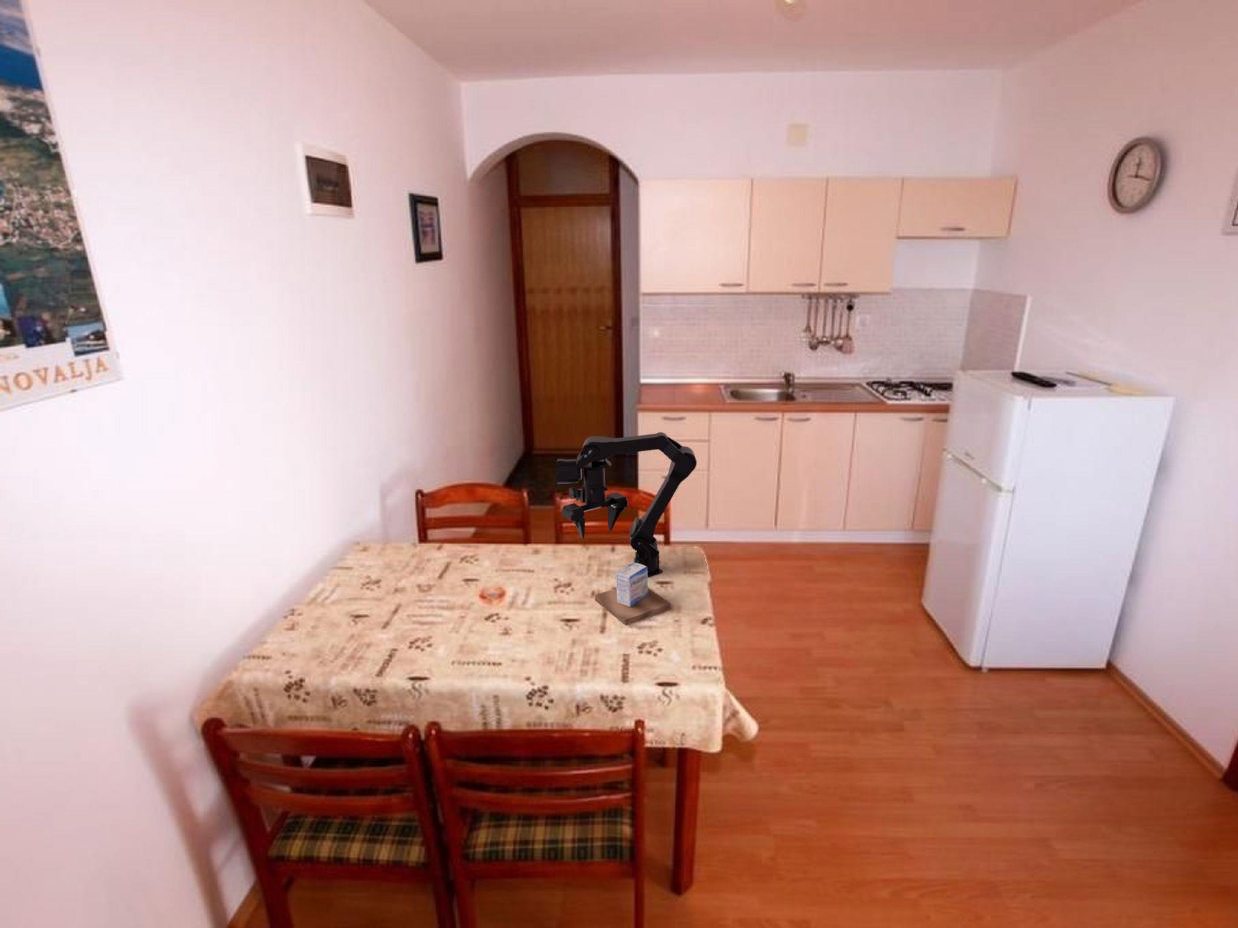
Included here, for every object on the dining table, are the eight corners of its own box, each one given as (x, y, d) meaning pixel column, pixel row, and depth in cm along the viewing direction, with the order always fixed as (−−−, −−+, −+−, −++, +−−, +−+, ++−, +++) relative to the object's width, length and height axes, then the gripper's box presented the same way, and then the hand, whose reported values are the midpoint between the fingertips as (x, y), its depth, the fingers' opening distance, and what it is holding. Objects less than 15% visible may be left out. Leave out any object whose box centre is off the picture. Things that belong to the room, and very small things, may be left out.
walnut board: (638, 585, 182) (638, 580, 181) (670, 608, 170) (670, 603, 169) (594, 600, 175) (594, 595, 174) (625, 625, 163) (625, 619, 162)
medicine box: (630, 608, 168) (629, 577, 165) (616, 602, 170) (615, 572, 168) (648, 595, 173) (648, 566, 171) (634, 590, 176) (634, 561, 173)
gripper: (607, 468, 193) (608, 517, 198) (550, 481, 183) (553, 532, 188) (628, 478, 184) (629, 529, 189) (570, 492, 174) (573, 546, 179)
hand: (596, 534), depth 186 cm, fingers open, 9 cm apart
